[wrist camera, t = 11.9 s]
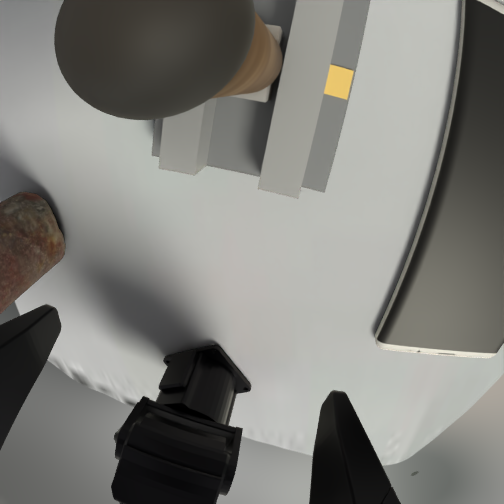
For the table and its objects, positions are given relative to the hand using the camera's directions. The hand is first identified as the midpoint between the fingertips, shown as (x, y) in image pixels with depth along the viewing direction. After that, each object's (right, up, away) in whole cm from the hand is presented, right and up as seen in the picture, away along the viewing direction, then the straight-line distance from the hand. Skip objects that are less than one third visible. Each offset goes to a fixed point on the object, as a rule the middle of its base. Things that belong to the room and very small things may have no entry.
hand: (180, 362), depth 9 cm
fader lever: (+2, +13, +5) cm, 14 cm away
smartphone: (+20, +7, +8) cm, 23 cm away
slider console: (+3, +16, +6) cm, 17 cm away
